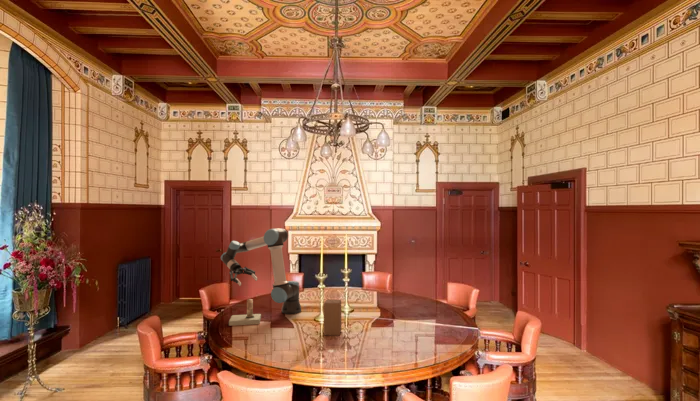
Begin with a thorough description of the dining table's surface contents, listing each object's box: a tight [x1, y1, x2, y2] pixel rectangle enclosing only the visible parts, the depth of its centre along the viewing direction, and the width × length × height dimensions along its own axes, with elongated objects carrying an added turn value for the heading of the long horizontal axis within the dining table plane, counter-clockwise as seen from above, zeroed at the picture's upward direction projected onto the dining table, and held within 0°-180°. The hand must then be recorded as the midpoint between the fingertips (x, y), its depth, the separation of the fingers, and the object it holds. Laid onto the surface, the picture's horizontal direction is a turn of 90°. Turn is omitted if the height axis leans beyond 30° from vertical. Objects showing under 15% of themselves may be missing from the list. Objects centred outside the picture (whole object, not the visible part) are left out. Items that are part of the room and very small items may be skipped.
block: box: [323, 298, 342, 337], centre depth 222 cm, size 10×10×20 cm
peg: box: [246, 298, 254, 318], centre depth 247 cm, size 4×4×15 cm
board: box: [228, 313, 262, 327], centre depth 246 cm, size 20×14×3 cm
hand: (249, 282), depth 259 cm, fingers open, 13 cm apart
